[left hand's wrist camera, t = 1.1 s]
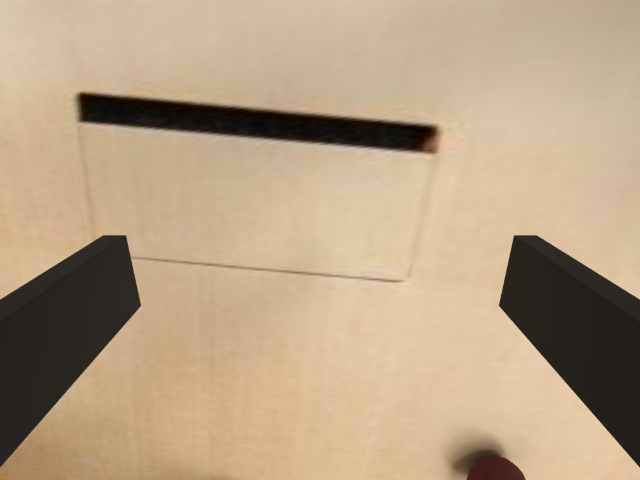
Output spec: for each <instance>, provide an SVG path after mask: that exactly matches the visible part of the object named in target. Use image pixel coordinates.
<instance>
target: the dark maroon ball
mask: <svg viewBox="0 0 640 480" xmlns="http://www.w3.org/2000/svg"><path fill="white" fill-rule="evenodd" d="M467 480H526V479H525V477H524V475H523V473H522V472H521V471H520V469H519V468H518V467H517V466H516V465H514V464H513V463H512V462H510V461H509V460H508V459H506V458H502V457H498V456H488V457H485V458H483V459H481V460H479V461H478V462H477V463H476V464H475V465H474V466H473V467H472V468H471V469H470V471H469V474H468V477H467Z"/></svg>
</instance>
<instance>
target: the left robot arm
mask: <svg viewBox="0 0 640 480" xmlns="http://www.w3.org/2000/svg"><path fill="white" fill-rule="evenodd" d="M140 306H141V303H140V299H139V294H138V289H137V285H136V280H135V275H134V271H133V266H132V261H131V257H130V252H129V248H128V243H127V238H126V235H103V236H102V237H100V238H98V239H97V240H95V241H94V242H92V243H90V244H89V245H87V246H86V247H84V248H82V249H81V250H79V251H78V252H76V253H74V254H73V255H71V256H70V257H68V258H66V259H65V260H63V261H61V262H60V263H58V264H57V265H55V266H53V267H52V268H50V269H49V270H47V271H45V272H44V273H42V274H41V275H39V276H37V277H36V278H34V279H33V280H31V281H29V282H28V283H26V284H25V285H23V286H21V287H20V288H18V289H17V290H15V291H13V292H12V293H10V294H9V295H7V296H5V297H4V298H2V299H0V467H1V466H2V465H3V464H4V462H5V461H6V460H7V459H8V458H9V457H10V456H11V454H12V453H13V452H14V451H15V450H16V449H17V448H18V446H19V445H20V444H21V443H22V442H23V441H24V439H25V438H26V437H27V436H28V435H29V434H30V433H31V431H32V430H33V429H34V428H35V427H36V426H37V425H38V423H39V422H40V421H41V420H42V419H43V418H44V417H45V415H46V414H47V413H48V412H49V411H50V410H51V409H52V407H53V406H54V405H55V404H56V403H57V402H58V400H59V399H60V398H61V397H62V396H63V395H64V394H65V392H66V391H67V390H68V389H69V388H70V387H71V386H72V384H73V383H74V382H75V381H76V380H77V379H78V378H79V376H80V375H81V374H82V373H83V372H84V371H85V369H86V368H87V367H88V366H89V365H90V364H91V363H92V361H93V360H94V359H95V358H96V357H97V356H98V355H99V353H100V352H101V351H102V350H103V349H104V348H105V347H106V345H107V344H108V343H109V342H110V341H111V340H112V339H113V337H114V336H115V335H116V334H117V333H118V332H119V330H120V329H121V328H122V327H123V326H124V325H125V324H126V322H127V321H128V320H129V319H130V318H131V317H132V316H133V314H134V313H135V312H136V311H137V310H138V309H139V308H140ZM499 306H500V308H501V309H502V310H503V311H504V312H505V313H506V314H507V316H508V317H509V318H510V319H511V320H512V321H513V322H514V324H515V325H516V326H517V327H518V328H519V329H520V330H521V332H522V333H523V334H524V335H525V336H526V337H527V339H528V340H529V341H530V342H531V343H532V344H533V345H534V347H535V348H536V349H537V350H538V351H539V352H540V353H541V355H542V356H543V357H544V358H545V359H546V360H547V361H548V363H549V364H550V365H551V366H552V367H553V368H554V369H555V371H556V372H557V373H558V374H559V375H560V376H561V378H562V379H563V380H564V381H565V382H566V383H567V384H568V386H569V387H570V388H571V389H572V390H573V391H574V392H575V394H576V395H577V396H578V397H579V398H580V399H581V400H582V402H583V403H584V404H585V405H586V406H587V407H588V409H589V410H590V411H591V412H592V413H593V414H594V415H595V417H596V418H597V419H598V420H599V421H600V422H601V423H602V425H603V426H604V427H605V428H606V429H607V430H608V431H609V433H610V434H611V435H612V436H613V437H614V438H615V439H616V441H617V442H618V443H619V444H620V445H621V446H622V448H623V449H624V450H625V451H626V452H627V453H628V454H629V456H630V457H631V458H632V459H633V460H634V461H635V462H636V464H637V465H638V466H639V467H640V299H638V298H636V297H635V296H633V295H631V294H630V293H628V292H627V291H625V290H623V289H622V288H620V287H619V286H617V285H615V284H614V283H612V282H611V281H609V280H607V279H606V278H604V277H603V276H601V275H599V274H598V273H596V272H595V271H593V270H591V269H590V268H588V267H587V266H585V265H583V264H582V263H580V262H579V261H577V260H575V259H574V258H572V257H570V256H569V255H567V254H566V253H564V252H562V251H561V250H559V249H558V248H556V247H554V246H553V245H551V244H550V243H548V242H546V241H545V240H543V239H542V238H540V237H538V236H537V235H514V238H513V243H512V247H511V252H510V257H509V261H508V266H507V271H506V275H505V280H504V285H503V289H502V294H501V299H500V303H499Z"/></svg>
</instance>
